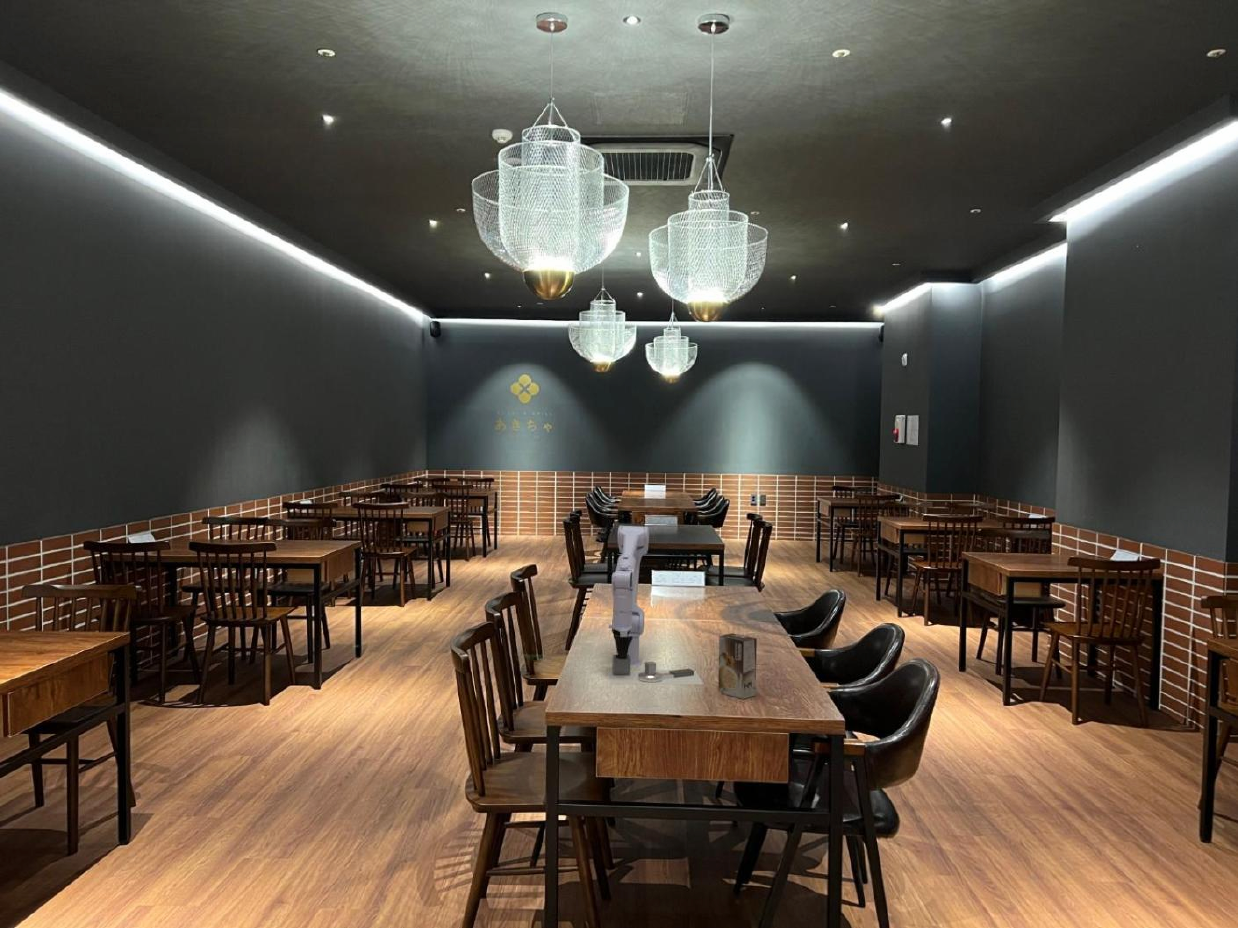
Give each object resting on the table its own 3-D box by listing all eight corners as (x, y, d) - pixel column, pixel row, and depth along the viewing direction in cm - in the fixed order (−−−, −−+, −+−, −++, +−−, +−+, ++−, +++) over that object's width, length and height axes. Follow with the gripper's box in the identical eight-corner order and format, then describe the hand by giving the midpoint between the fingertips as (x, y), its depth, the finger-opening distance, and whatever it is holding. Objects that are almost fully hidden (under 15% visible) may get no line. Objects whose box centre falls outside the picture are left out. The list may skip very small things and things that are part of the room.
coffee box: (757, 695, 243) (758, 638, 243) (743, 699, 239) (744, 641, 238) (730, 688, 250) (732, 632, 250) (716, 692, 245) (718, 635, 245)
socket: (612, 671, 264) (612, 654, 264) (628, 671, 265) (629, 654, 265) (613, 675, 259) (613, 658, 259) (630, 675, 260) (630, 658, 260)
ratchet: (633, 677, 257) (634, 661, 257) (684, 671, 266) (685, 655, 266) (646, 683, 251) (646, 666, 251) (698, 677, 260) (698, 660, 259)
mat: (607, 671, 266) (607, 669, 266) (694, 671, 268) (694, 670, 268) (610, 685, 250) (610, 683, 250) (703, 685, 252) (703, 684, 252)
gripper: (607, 606, 269) (606, 650, 269) (610, 615, 254) (609, 661, 254) (630, 606, 269) (629, 650, 269) (634, 615, 255) (633, 661, 255)
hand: (621, 656), depth 262 cm, fingers open, 7 cm apart
